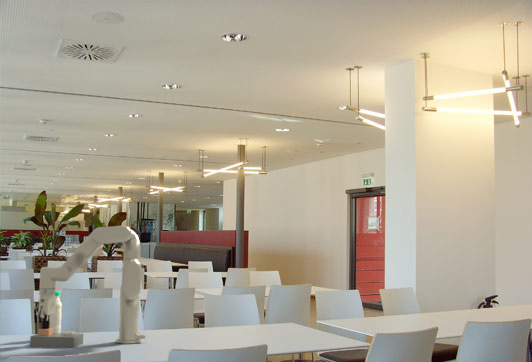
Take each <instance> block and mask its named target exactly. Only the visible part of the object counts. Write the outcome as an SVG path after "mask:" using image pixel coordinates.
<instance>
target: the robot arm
mask: <svg viewBox="0 0 532 362" xmlns="http://www.w3.org/2000/svg"><path fill="white" fill-rule="evenodd" d="M115 243H122V244H123V258H122V259H123V262H122V267H121V271H122V272H121V273H122V274H121V285H120V289H119V290H120V291H119V292H120V293H119V294H120V296H119V299H120V301H119V303H120V304H119V336H118V338H117V339H115V342H116V343H118V344H124V345H125V344H137V343H141V341H142V340H144V339H145V340H146V338H147V335H146V334H141V332H140V331H139V319H140V318H139V316H140V315H139V313H140V312H139V311H140V293H141V287H142V285H141V284H142V264H141V242H140V239H139V236H138V234H137V233H136V232H135V231H134V230H133V229H131V228H130V227H129V226H127V225H114V226H101V227H97V228H95V229H94V230H93V231H92V232H91V233H90V234H89V235H88V236H87V237H86V238H85V239H84V240H83V241H82V242H81V243H80V244H79V245H78V246H77V248H75V250H74V252H72V254H71V256H69V257H68V259H67V260H66V261H65V262H64V263H63V264H62V265H61V266H59V267H58V266H57V267H54V266H42V267H41V268H40V272H39V273H40V274H39V291H38V295H39V299H38V309H37V310H38V311H37V312H38V315H39V317H40V319H41V328H42V329H49V327H50V321H49V320H50V317H51V315H52V314H54V313H55V309H56V303H55V291H56V285H57V284H56V283H57V282H61V283H62V282H63V283H65V282H68V281H69V280H70V279H71V278H72V277H73V276H74V274H76V272H77V271H78V270H79V269H80V268H81V267H82V266H83V265H84V264H85V263H87V262H88V261H90V259H91V258H92V257H93V256H94V255H96V253H97V252H98V251H99V250H100V248H101V247H102V246H104V245H107V244H115Z"/></svg>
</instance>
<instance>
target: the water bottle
mask: <svg viewBox="0 0 532 362" xmlns="http://www.w3.org/2000/svg"><path fill="white" fill-rule="evenodd" d="M60 296H61V292H60V291H59V290H55V303H56V309H55V313H54V314H52V315H51V317H50V320H49V321H50V327H49V328H53V333H62V326H61V323H62V306H63V304H62V302H61V299H60Z"/></svg>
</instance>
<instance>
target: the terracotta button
mask: <svg viewBox="0 0 532 362" xmlns="http://www.w3.org/2000/svg"><path fill="white" fill-rule="evenodd" d="M37 334H38V335H41V336H49V335H52V334H53V328H49V329H42V327H41V328H39V329H38V333H37Z"/></svg>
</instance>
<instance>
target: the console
mask: <svg viewBox="0 0 532 362" xmlns="http://www.w3.org/2000/svg"><path fill="white" fill-rule="evenodd" d="M62 333H63V332H61V333H53V334H52V335H49V336H41V335H38V333H36V334H33V335H30V337H29V338H30V339H29V340H30V341H29V342H30V343H29V347H31V348H33V347H34V348H61V349H63V348H64V349H65V348H69V349H70V348H71V349H74V348H76V347H79V346H81V345H83V344H84V333H82V332H81V333H77V332H76V335H74V336H62Z"/></svg>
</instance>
